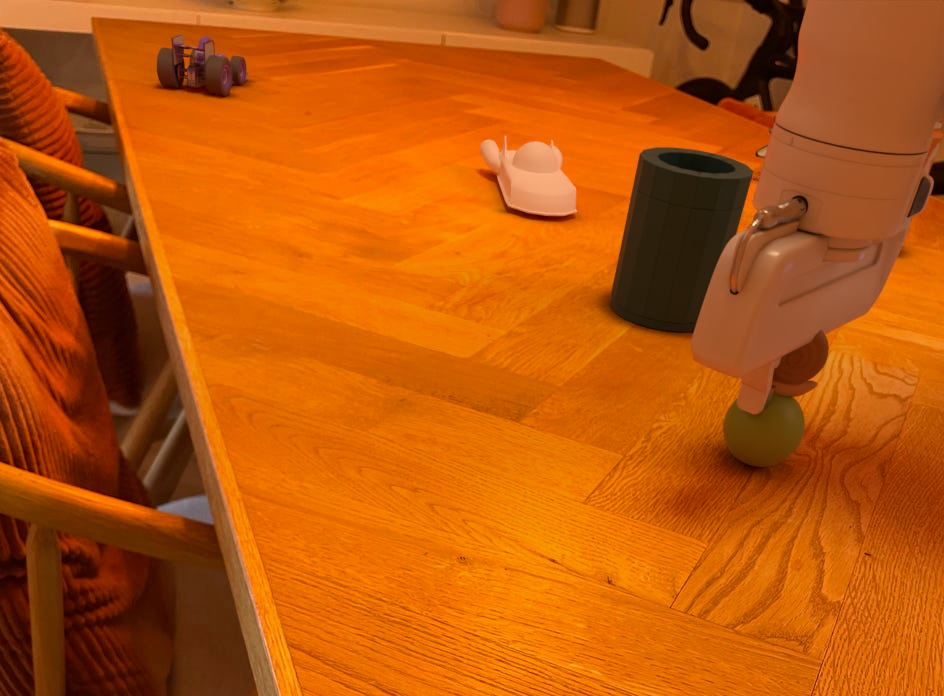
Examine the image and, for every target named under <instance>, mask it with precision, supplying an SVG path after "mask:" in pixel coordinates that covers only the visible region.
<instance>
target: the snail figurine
mask: <svg viewBox="0 0 944 696" xmlns="http://www.w3.org/2000/svg"><path fill="white" fill-rule="evenodd" d="M829 349H830V347H829V341H828V337H827V335H826V334H824V332H823V331H822V330H820V331H819V332H818V333H817V334H816V335H815V337H814V338H813V340H812V341H811V342H810V343H808V344H806V345H804V346H802V347H800V348H798V349H796V350H794V351H792V352H790V353H788V354H786V355H784V356H782V357H781V360H780V363H779V366H778V367H777V368H774V372H773V379H772V385H773V386H776V388H775V392H774V395H773V397H772V399H771V404H770V405H769V406H768V407H767V408H766V409H765V410H763V411H761V412H760V413H759V414H756V415H753V414H750V413H748V412H746V411H743V410H741V409H739V407H738V406H737V398H736V399H735V400H734V401H733V402H732V403H731V404H730V406H729V407H728V409H727V411H726V414H725V416H724V419H723V424H722V428H723V429H722V433H723V434H722V435H723V439H724V442H725V444H726V447H727V449H728V450H729V452H730V453H731V454H732V455H733V456H734V457H735V458H736V459H737V460H739V461H740V462H742V463H744V464H746V465H748V466H752V467H758V468H765V467H772V466H774V465H777V464H780V463H783V462H784V461H786V460H787V459H788V458H789V457H791V456H792V455H793V454H794V453H795V451H796V450H797V449H798V447H799V446H800V444H801V443H802V440H803V437H804V435H805V429H806V421H805V414H804V411H803V409H802V406H801V405H800V403H799V402H798V400H797V399H796V397H800V396H803V395H805V394H807V393H809V392H811V391H813V390H814V389H816V387H817V386H818V382H817V381H814V380H811V379H813V378H814V377H816V376H817V375H819V373H820V372H821V371H822V370H823V368H824V367H825V365H826V363H827V361H828V356H829Z"/></svg>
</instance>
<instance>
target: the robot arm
mask: <svg viewBox="0 0 944 696" xmlns="http://www.w3.org/2000/svg"><path fill="white" fill-rule="evenodd" d="M790 85H791V86H790V88H789V90H788V91H787V94H786V96H785V98H784V99H783V101H782V103H781V105H780V106H779V109H778V110H777V113H776V114H775V115H776V119H775V123H774V122H773V126H772V129H773V130H772V133H771V134H770V137H769V140H768V144H767V145H768V147H767V151H766V155H765V158H763V162H762V166H761V169H760V172H759V173H760V174H759V177H758V180H757V184H756V188H755V192H754V195H753V198H752V205H753V207H754V209H755V210H756V212H755V213H754V216H753V219H752V222H751V223H750V224H749V225H748V227H747V228H746V229H744V230H742V231H739V232H737V234H736V235H735V236H734V237H733V238H732V239H731V240H730V241H729V242H728V243H727V245H726V246H725V248H724V250H723V252H722V254H721V256H720V258H719V260H718V263H717V265H716V268H715V270H714V273H713V275H712V278H711V281H710V284H709V287H708V290H707V293H706V296H705V299H704V301H703V304H702V308H701V311H700V314H699V317H698V320H697V323H696V327H695V330H694V331H693V334H692V337H691V341H690V348H691V349H690V350H691V354H692V359H693V361H694V362H696V363H697V364H699V365H701V366H703V367H705V368H707V369H710V370H712V371H715V372H718V373H720V374H723V375H725V376H728V377H731V378H735V379H740V380H741V385H740V389H739V392H738V395H737V398H736V399H737V406H738V407H739V409H741V410H743V411H746V412H748V413H750V414H753V415H756V414H759V413H760V412H761V411H763V410H765V409H766V408H767V407H768V406H769V405H770V404H771V399H772V397H773V395H774V392H775V388H776V386H773V385H772V379H773V372H774V368H777V367H778V366H779V363H780V360H781V357H782V356H784V355H786V354H788V353H790V352H792V351H794V350H796V349H798V348H800V347H802V346H804V345H806V344H808V343H810V342H811V341H812V340H813V338H814V337H815V335H816V334H817V333H818V332H819V331H820V330H822V331H823V332H824V334H825V335H827V334H829V333H831V332H833V331H835V330H838V329H840V328H841V327H843V326H846V325H848V324H849V323H851V322H853V321H855V320H857V319H859V318H860V317H863V316H865V315H867V314H868V312H870V311H871V309H872V308H873V306H874V305H875V303H876V302H877V300H878V298H879V297H880V295H881V294H882V292H883V289H884V288H885V286H886V283H887V281H888V279H889V277H890V274H891V272H892V270H893V268H894V266H895V263H896V262H897V259H898V256H899V254H900V252H901V250H902V247H903V245H904V243H905V240H906V237H907V235H908V233H909V230H910V227H911V222H912V220H911V218H912V217H913V218H914V217H916V216H918V215H920V214H921V213H923V211H925V208H926V207H927V205H928V202H929V200H930V197H931V194H932V192H933V189H934V183H935V181H934V178H933V177H932V176H931V175H930V173H929V174H927V173H926V172H925V170H924V167H923V165H924V163H925V160H926V157H927V155H928V152H929V149H930V146H931V143H932V139H933V130H934V125H935V124H936V123H937V122H939V123H942V125H944V0H807V4H806V7H805V10H804V14H803V18H802V21H801V24H800V28H799V32H798V39H797V62H796V68H795V72H794V77H793V79H792V82H791V84H790ZM913 218H912V219H913Z"/></svg>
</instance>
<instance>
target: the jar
mask: <svg viewBox="0 0 944 696" xmlns="http://www.w3.org/2000/svg"><path fill="white" fill-rule="evenodd" d="M634 174H635V175H634V179H633V185H632V190H631V195H630V199H629V205H628V210H627V213H626V218H625V223H624V229H623V233H622V238H621V244H620V248H619V253H618V258H617V263H616V268H615V272H614V277H613V278H614V279H613V282H612V287H611V292H610V293H611V294H610V296H611V297H610V302H609V303H610V304H609V305H610V308H611V310H612V311H613V312H614V313H616V314H617V315H618V316H619V317H621V318H623V319H625V320H627V321H629V322H631V323H634V324H636V325H639V326H641V327H645V328H649V329H654V330H659V331H666V332H676V333H688V332H689V333H690V332H694V330H695V327H696V323H697V320H698V317H699V314H700V311H701V308H702V304H703V301H704V299H705V296H706V293H707V290H708V287H709V284H710V281H711V278H712V275H713V273H714V270H715V268H716V265H717V263H718V260H719V258H720V256H721V254H722V252H723V250H724V248H725V246H726V245H727V243H728V242H729V241H730V240H731V239H732V238H733V237H734V236H735V235H736V234H738V230H739V226H740V222H741V218H742V215H743V212H744V209H745V205H746V200H747V198H748V197H747V196H748V193H749V190H750V186H751V183H752V179H753V175H754V170H753V169H752V168H751V167H750V166H749V165H747V164H745V163H744V162H741V161H738V160H737V159H734V158H731V157H728V156H724V155H721V154H717V153H713V152H708V151H705V150H699V149H691V148H685V147H684V148H682V147H672V146H668V147H667V146H663V147H660V146H658V147H657V146H656V147H651V148H645V149H643V150H642V151H641V152H640V153H639V155H638V160H637V165H636V170H635V173H634Z"/></svg>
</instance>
